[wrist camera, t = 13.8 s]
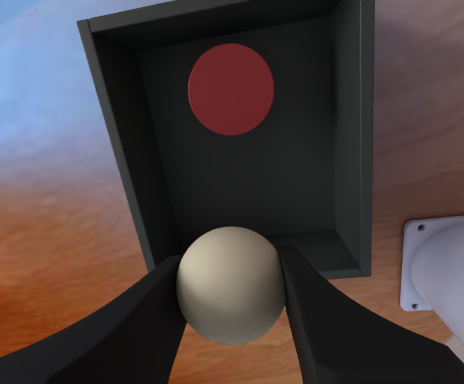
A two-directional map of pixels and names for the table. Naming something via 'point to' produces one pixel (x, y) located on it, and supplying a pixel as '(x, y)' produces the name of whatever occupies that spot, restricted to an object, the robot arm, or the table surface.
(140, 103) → the bin
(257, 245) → the beige ball
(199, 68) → the red cylinder
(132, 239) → the table surface
